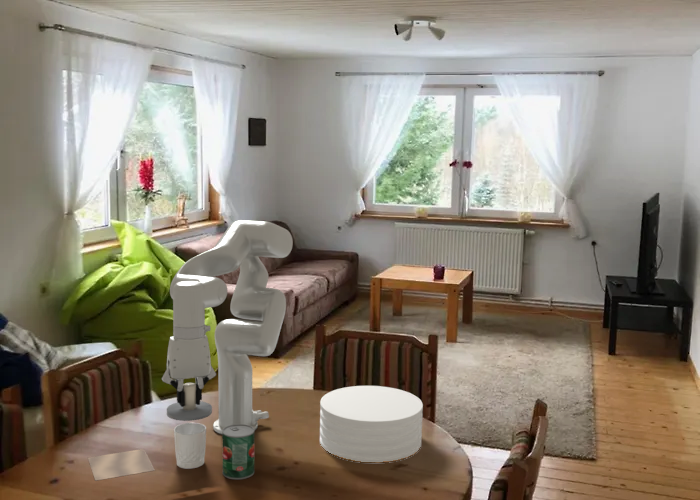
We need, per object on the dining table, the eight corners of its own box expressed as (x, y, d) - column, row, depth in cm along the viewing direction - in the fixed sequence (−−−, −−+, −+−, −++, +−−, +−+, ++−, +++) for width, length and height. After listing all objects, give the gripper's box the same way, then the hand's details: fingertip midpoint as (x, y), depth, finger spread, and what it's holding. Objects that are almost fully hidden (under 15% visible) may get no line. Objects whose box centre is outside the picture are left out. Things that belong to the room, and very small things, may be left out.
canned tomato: (260, 473, 185) (261, 431, 183) (233, 482, 179) (233, 439, 178) (242, 462, 190) (243, 421, 189) (216, 471, 185) (216, 429, 184)
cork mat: (144, 452, 195) (144, 448, 195) (155, 474, 183) (155, 470, 183) (87, 461, 189) (87, 457, 189) (95, 484, 177) (95, 480, 177)
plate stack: (399, 419, 223) (400, 382, 222) (437, 457, 197) (439, 415, 195) (308, 428, 215) (309, 389, 213) (336, 469, 188) (337, 426, 187)
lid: (205, 402, 193) (205, 375, 192) (217, 416, 183) (217, 388, 182) (162, 408, 188) (162, 380, 187) (172, 423, 178) (172, 394, 177)
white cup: (199, 474, 183) (198, 436, 182) (169, 471, 185) (168, 432, 183) (211, 461, 191) (211, 424, 189) (182, 458, 192) (182, 421, 191)
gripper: (217, 325, 189) (217, 395, 192) (151, 331, 182) (152, 403, 185) (226, 332, 183) (225, 404, 185) (158, 338, 176) (159, 413, 178)
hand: (189, 403), depth 185 cm, fingers closed on lid, 3 cm apart
